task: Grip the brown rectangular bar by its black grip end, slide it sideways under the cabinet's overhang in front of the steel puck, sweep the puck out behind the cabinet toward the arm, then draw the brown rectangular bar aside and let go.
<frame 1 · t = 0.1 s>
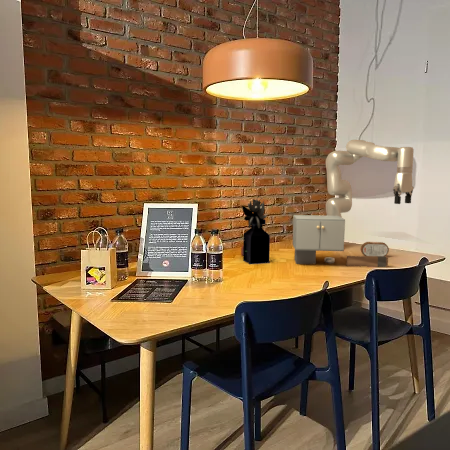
hand: (402, 203, 228), 31 cm above the table, tool pointing down, fingers open, 9 cm apart
puck: (329, 262, 228), on the table
brown rectangular bar: (366, 266, 219), on the table
vase: (255, 262, 228), on the table
snack package: (254, 254, 251), on the table
cabinet: (316, 262, 227), on the table
tin: (374, 257, 244), on the table
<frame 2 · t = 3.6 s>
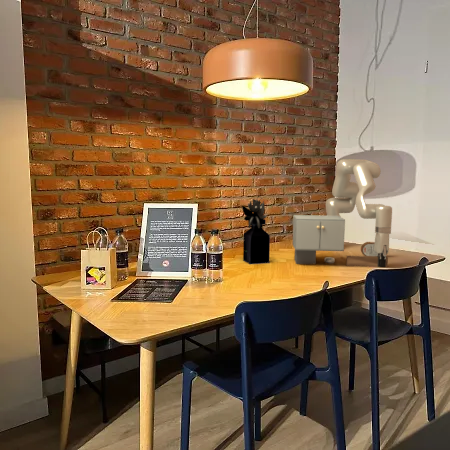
hand: (381, 266, 219), 0 cm above the table, tool pointing down, fingers closed on brown rectangular bar, 1 cm apart
brown rectangular bar: (366, 266, 220), on the table, touching gripper
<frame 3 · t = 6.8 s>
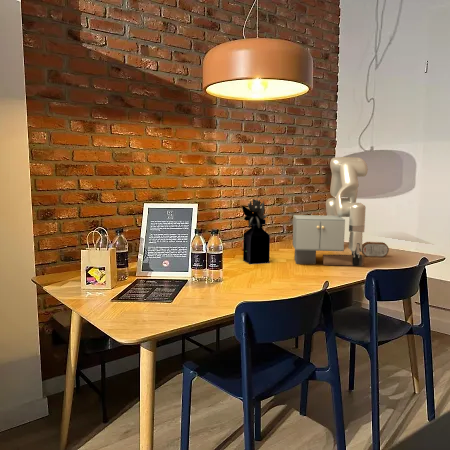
hand: (354, 264, 220), 1 cm above the table, tool pointing down, fingers closed on brown rectangular bar, 2 cm apart
brown rectangular bar: (343, 264, 220), on the table, touching gripper
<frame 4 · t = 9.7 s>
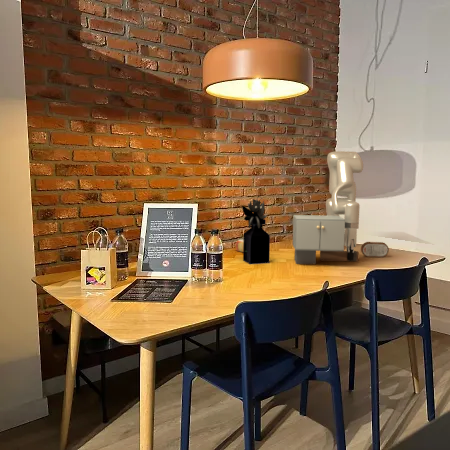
hand: (349, 259, 232), 1 cm above the table, tool pointing down, fingers closed on brown rectangular bar, 2 cm apart
puck: (326, 258, 237), on the table
brown rectangular bar: (338, 260, 233), on the table, touching gripper
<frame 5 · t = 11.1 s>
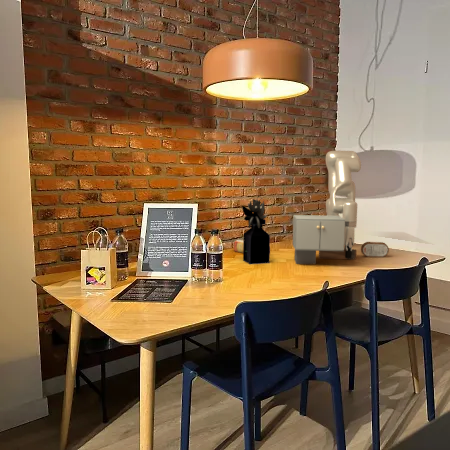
hand: (347, 257, 238), 1 cm above the table, tool pointing down, fingers closed on brown rectangular bar, 2 cm apart
puck: (325, 257, 242), on the table, touching brown rectangular bar
brown rectangular bar: (337, 258, 238), on the table, touching gripper, puck
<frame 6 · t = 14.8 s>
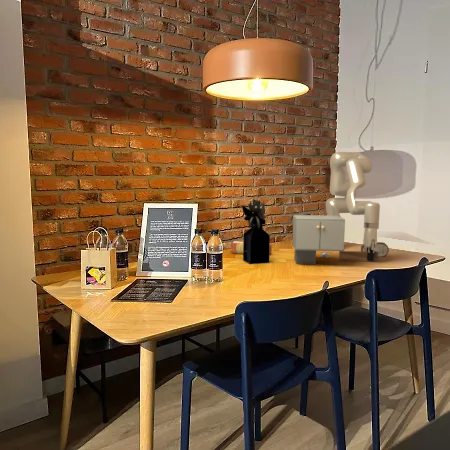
hand: (369, 259, 232), 1 cm above the table, tool pointing down, fingers closed on brown rectangular bar, 2 cm apart
puck: (325, 257, 242), on the table
brown rectangular bar: (358, 260, 232), on the table, touching gripper
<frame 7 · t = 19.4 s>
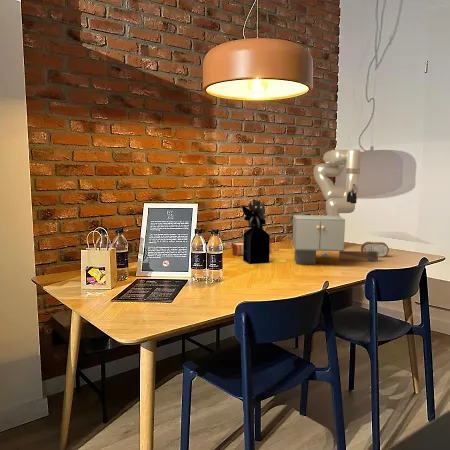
hand: (351, 202, 243), 30 cm above the table, tool pointing down, fingers open, 9 cm apart
brown rectangular bar: (358, 260, 232), on the table
at the end: puck inside the target area (2.7 cm from its centre), on the table; puck tilted 5°; the gripper is holding nothing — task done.
